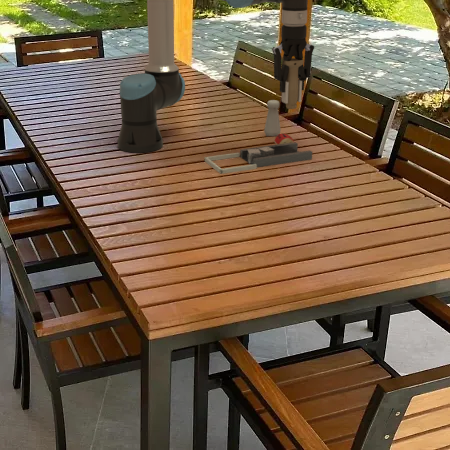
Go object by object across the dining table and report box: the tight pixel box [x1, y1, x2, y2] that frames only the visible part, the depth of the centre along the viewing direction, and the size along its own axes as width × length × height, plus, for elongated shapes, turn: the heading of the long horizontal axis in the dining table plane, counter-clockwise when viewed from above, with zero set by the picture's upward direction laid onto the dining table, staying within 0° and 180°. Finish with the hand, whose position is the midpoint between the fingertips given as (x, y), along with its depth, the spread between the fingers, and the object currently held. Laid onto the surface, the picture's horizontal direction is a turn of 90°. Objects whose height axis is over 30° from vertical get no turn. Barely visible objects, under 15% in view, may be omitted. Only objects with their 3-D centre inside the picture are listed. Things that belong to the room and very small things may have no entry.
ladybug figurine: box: [273, 133, 295, 145], centre depth 244 cm, size 7×10×4 cm
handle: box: [281, 57, 304, 110], centre depth 221 cm, size 5×6×15 cm
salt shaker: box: [263, 99, 282, 137], centre depth 250 cm, size 6×6×13 cm
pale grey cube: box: [247, 149, 261, 165], centre depth 225 cm, size 4×4×4 cm
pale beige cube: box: [259, 146, 274, 157], centre depth 227 cm, size 4×4×4 cm
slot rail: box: [239, 141, 313, 168], centre depth 228 cm, size 20×11×4 cm, turn 113°
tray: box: [203, 152, 258, 175], centre depth 223 cm, size 12×13×2 cm
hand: (291, 101), depth 223 cm, fingers closed on handle, 4 cm apart
